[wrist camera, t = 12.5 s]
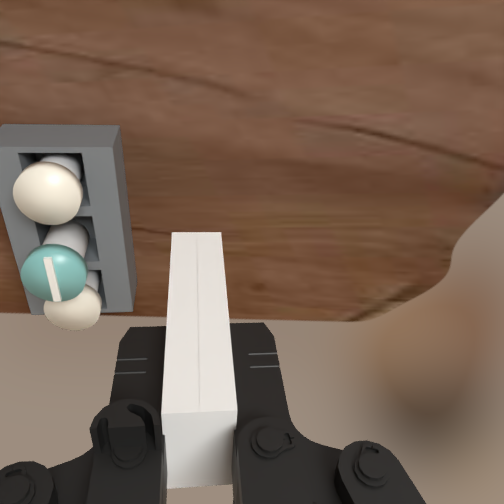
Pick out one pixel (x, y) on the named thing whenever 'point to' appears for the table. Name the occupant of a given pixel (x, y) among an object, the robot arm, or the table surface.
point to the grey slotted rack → (91, 208)
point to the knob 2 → (77, 307)
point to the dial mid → (58, 263)
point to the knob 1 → (51, 188)
